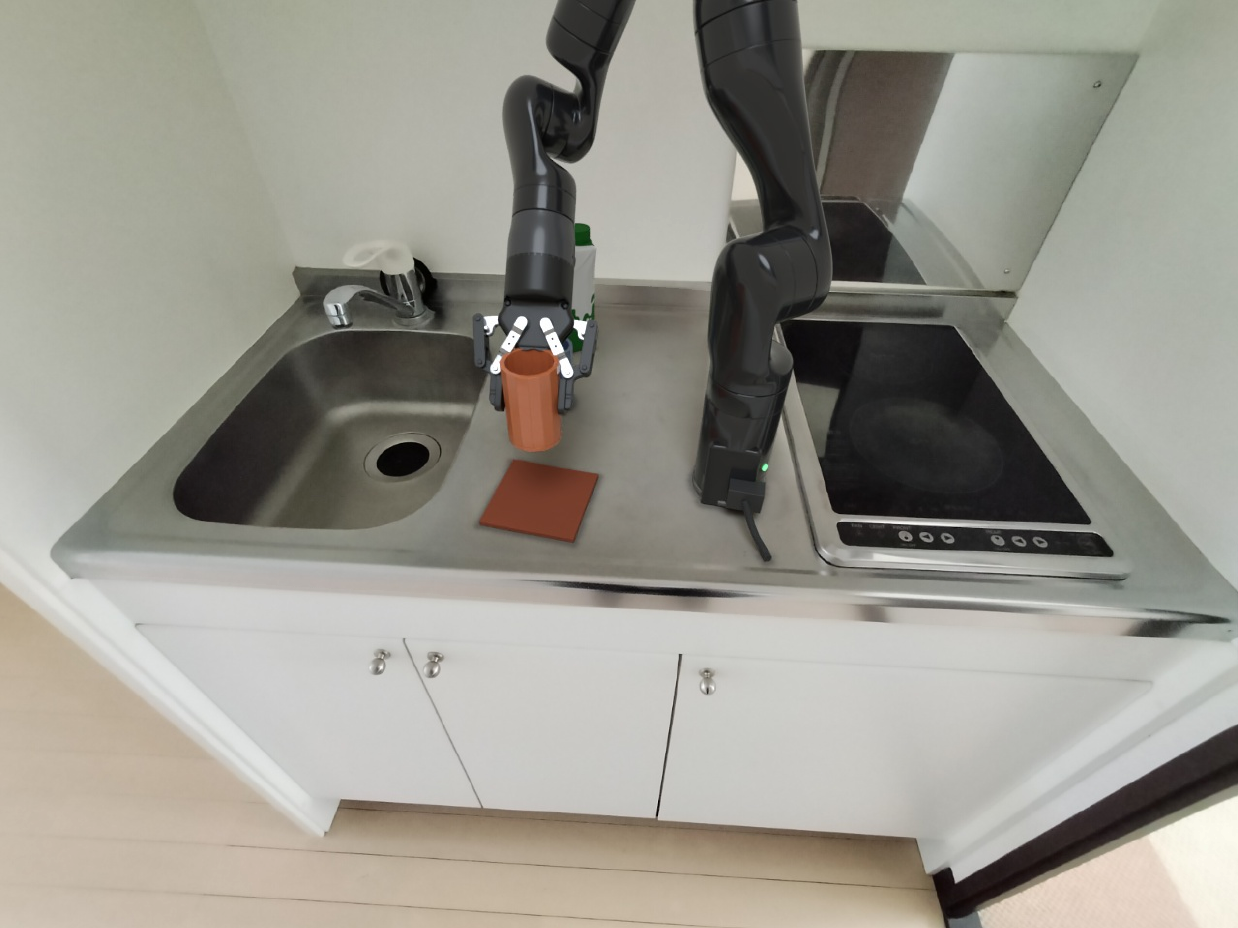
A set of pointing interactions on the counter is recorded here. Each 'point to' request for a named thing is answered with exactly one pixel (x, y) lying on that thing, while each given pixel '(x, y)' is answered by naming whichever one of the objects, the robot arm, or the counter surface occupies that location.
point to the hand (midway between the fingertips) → (530, 412)
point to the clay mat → (540, 500)
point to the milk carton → (583, 280)
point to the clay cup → (531, 398)
